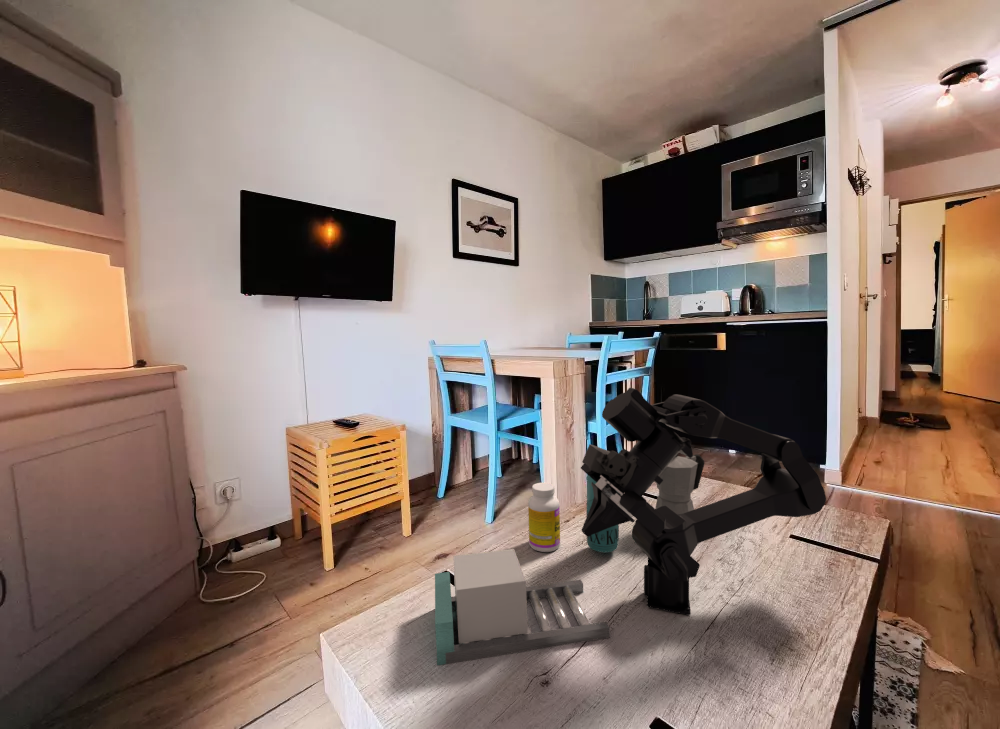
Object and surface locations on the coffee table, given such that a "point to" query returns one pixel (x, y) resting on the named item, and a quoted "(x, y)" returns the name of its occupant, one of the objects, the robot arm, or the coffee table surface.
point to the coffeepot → (680, 483)
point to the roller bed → (520, 642)
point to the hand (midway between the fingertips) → (584, 533)
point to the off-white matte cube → (489, 595)
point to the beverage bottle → (604, 538)
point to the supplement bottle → (544, 518)
